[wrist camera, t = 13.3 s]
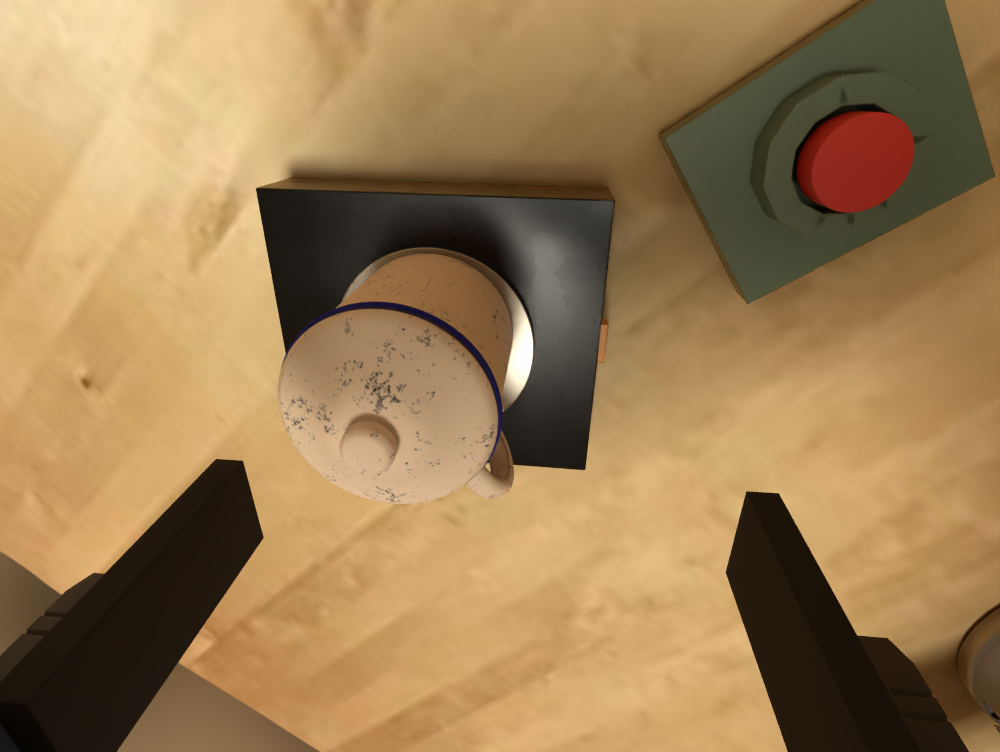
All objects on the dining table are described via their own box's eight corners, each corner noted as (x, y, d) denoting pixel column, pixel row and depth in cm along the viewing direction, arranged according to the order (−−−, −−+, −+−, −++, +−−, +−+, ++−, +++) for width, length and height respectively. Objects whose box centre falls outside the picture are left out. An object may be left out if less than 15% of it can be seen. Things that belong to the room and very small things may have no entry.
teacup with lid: (318, 310, 29) (185, 424, 19) (445, 209, 26) (369, 280, 16) (455, 462, 33) (406, 627, 23) (580, 390, 30) (591, 543, 20)
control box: (906, -29, 24) (966, -51, 20) (967, 171, 27) (1028, 182, 24) (657, 135, 28) (671, 140, 24) (737, 292, 31) (759, 317, 28)
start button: (875, 90, 23) (898, 90, 21) (904, 173, 24) (927, 178, 23) (782, 147, 24) (797, 150, 23) (814, 222, 26) (830, 230, 24)
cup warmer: (618, 188, 29) (627, 202, 25) (590, 435, 37) (594, 477, 32) (290, 177, 31) (249, 189, 27) (326, 416, 38) (298, 454, 34)
